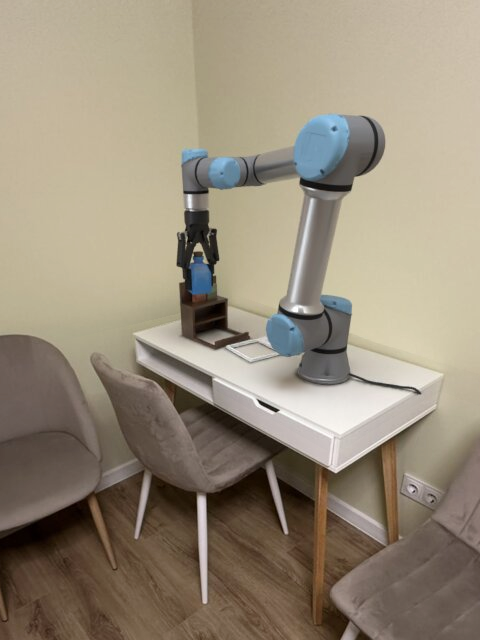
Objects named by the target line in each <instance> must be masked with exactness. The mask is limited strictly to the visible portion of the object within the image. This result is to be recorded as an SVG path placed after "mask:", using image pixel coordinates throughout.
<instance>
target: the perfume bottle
mask: <svg viewBox="0 0 480 640" xmlns="http://www.w3.org/2000/svg"><path fill="white" fill-rule="evenodd" d="M204 256H205V255H204V251H201V250H195V251H193V254H192V260H193V262H190V266H189V268H190V269H191V275H192V290H191V291H190V290H188V291H189V292H190V293H192V294H193V295H195V294H205V293H212V292H211V272H210V270H209V268H208V266H207V264H208V263H205V262H204V260H205V257H204Z"/></svg>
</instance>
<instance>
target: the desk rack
mask: <svg viewBox="0 0 480 640" xmlns="http://www.w3.org/2000/svg"><path fill="white" fill-rule="evenodd" d="M178 289H179V306H180V307H179V308H180V309H179V310H180V325H181V336H182V337H184V338H186V339H189V340H191V341H194V342H196V343H198V344H200V345H203V346H205V347H208V348H210V349H213V350H218V349H219V350H220V349H222V348H226V346H227V345H232V344H236V343H240V342H244V341H248V340H251V336H250V332H249V331H244V332H240V331H237V330H236V329H232V328H229V320H228V318H229V315H228V314H229V311H228V309H229V307H228V303H229V302H228V301H229V298H228V297H224V296H222V295H218V283H217V275H215V274H213V286H211V292H212V293H205V294H195V295H193V294H192V293H190V292H189V291H188V290H186V289H185V281H181V282H178ZM213 328H217V329H220V330H222V331H225V332H228V333H230V334H233V335H231V336H228V337H225V338H222V339H219V340H216V341H214V344H213V343H211V342H208V341H206V340H203V339H201V338H199V337H197V335H196V333H199V332H202V331H203V332H204V331H207V330H210V329H213Z"/></svg>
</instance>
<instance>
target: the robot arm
mask: <svg viewBox="0 0 480 640" xmlns="http://www.w3.org/2000/svg"><path fill="white" fill-rule="evenodd" d="M383 129H384V128H383V127H382V125H381V124H380V123H379V121H377V120H376V119H374V118H373V117H371V116H367V115H352V114H338V113H328V114H327V113H326V114H320V115H319V114H318V115H316V116H314V117H312V118H311V119H309V121H307V122H306V123H305V124H304V125H303V126H302V127H301V129H300V131H299V132H298V134H297V136H296V139H295V141H294V145H292V146H288V147H283V148H280V149H276V150H272V151H267V152H264V153H263V152H262V153H259V154H254V155H249V156H214V157H213V156H212V157H209V152H208V150H207V149H205V148H198V149H197V148H192V149H191V148H190V149H189V148H188V149H187V148H186V149H183V150H182V152H181V165H180V167H181V181H182V197H183V199H182V200H183V208H184V209H185V210H184V211H183V220H184V221H183V222H184V224H185V228H184V231H181V232H180V231H177V233H176V238H177V251H176V263H175V264H176V267H177V268H181V272H182V279H183V280H184V282H185V289H186V290H190V291H191V290H192V275H191V269H190V268H189V266H190V263H192V262H191V261H192V259H193V252H195V251H194V250H195V247H197V244H200V245H201V248H202V252H203V255H204V256H205V259H206V262H207V263H206V264H207V266H208V268H209V270H210V272H211V286H213V276H214V275H215V265H217V264H218V262H220V253H219V247H218V245H219V244H218V239H217V233H218V229H217V228H215V227H214V228H213V227H210V226H209V224H210V210H209V208H210V190H209V189H217V190H222V191H224V190H232V189H235V188H245V187H261V186H265V185H267V184H272V183H278V182H282V181H289V180H295V179H299V183H298V186H299V187H300V189H301V191H302V192H303V199H302V205H301V211H300V216H299V222H298V228H297V234H296V237H295V238H296V239H295V245H294V250H293V255H292V263H291V268H290V273H289V278H288V279H289V280H288V284H287V290H286V295H284V296H283V297H281V298H280V299H279V302H278V307H277V313H274V314H272V316H271V317H269V318H268V319H267V322H266V326H265V333H266V336H267V338H268V341H269V342H270V344H271V346H272V348H273V349H274V351H275V352H277V353H278V354H280V355H279V356H282V357H285V358H291V357H295V356H300V355H302V356H301V359H300V362H299V364H298V367H297V374H298V376H299V377H300V378H301V379H303V381H307V382H308V383H312V384H317V385H338V384H341V383H344V382H346V381H348V380H349V378H350V377H352V378H355V379H357V380H360V381H362V382H365V383H368V384H370V385H376V386H377V385H378V386H383V387H391V388H397V389H403V390H404V389H405V390H412V391H414V392H416V393H417V394H418V395H422V392H421V391H420V390H419V389H418V388H416V387H414V386H409V385H398V384H393V383H385V382H378V381H374V380H369V379H367V378H364V377H362V376H358V375H356V374H353V373H351V367H350V362H349V357H348V352H347V350H348V345H349V344H348V343H349V336H350V329H351V321H352V316H353V303H352V301H351V300H349V299H348V298H345V297H342V296H338V295H331V294H322V293H323V288H324V285H325V279H326V276H327V271H328V266H329V261H330V256H331V252H332V248H333V244H334V239H335V235H336V229H337V225H338V220H339V217H340V212H341V207H342V202H343V199H344V198H345V197H346V196H348V195H349V194H351V192H352V190H353V185H354V181H355V178H356V177H362V176H364V175H367V174H369V173H370V172H372V171H373V170H374V169H375V168H376V167H377V166H378V165H379V163H380V162H381V160H382V158H383V156H384V154H385V149H386V134H385V131H384V130H383ZM273 349H272V350H273Z"/></svg>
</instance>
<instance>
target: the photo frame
mask: <svg viewBox="0 0 480 640" xmlns="http://www.w3.org/2000/svg"><path fill="white" fill-rule="evenodd" d="M253 343H260V344H261V345H264V346H266V347H267V348H270V349H272V350H274V349H273V348H272V346H271V344H270V342H269V341H268V338H267V335H266V336H262V337H257V338H253V339H248V340H244V341H241V342H237V343H234V344H231V345H227V346H225V349H227V350H229V351H230V352H232V353H233V354H236V355H237V356H238V357H241V358H243V359H244V360H245V361H248V362H249V363H253V362H257V361H261V360H265V359H269V358H273V357H276V356H277V357H278V356H281V355H280V354H278V353H277V352H276V351H275V350H274V351H275V352H271V353H268V354H264V355H259V356H255V357H250V356H248V355H246V354H244V353H242V352H241V351H239V350H237V349H235V348H238V347H241V346H247V345H251V344H253Z"/></svg>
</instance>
